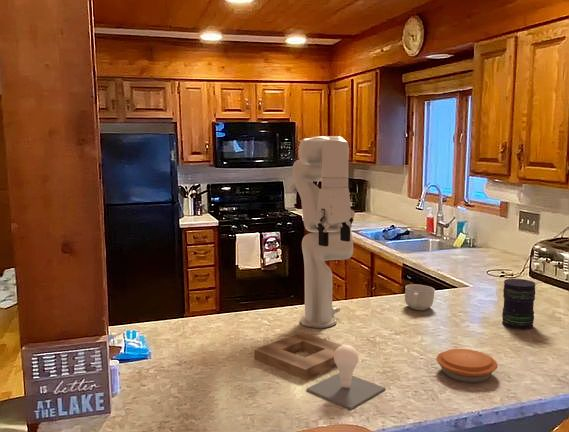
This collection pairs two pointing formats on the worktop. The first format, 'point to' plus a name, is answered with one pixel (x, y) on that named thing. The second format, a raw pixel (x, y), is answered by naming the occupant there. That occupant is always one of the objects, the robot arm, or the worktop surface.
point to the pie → (466, 365)
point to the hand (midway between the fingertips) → (334, 243)
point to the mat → (346, 391)
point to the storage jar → (518, 304)
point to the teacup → (419, 296)
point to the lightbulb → (346, 363)
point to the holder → (287, 360)
